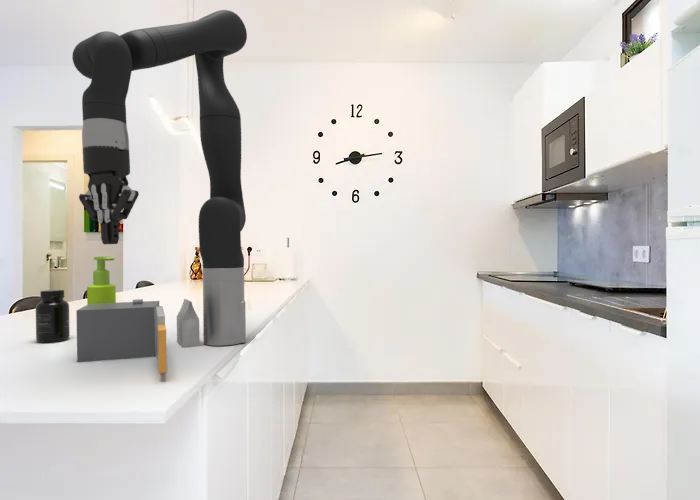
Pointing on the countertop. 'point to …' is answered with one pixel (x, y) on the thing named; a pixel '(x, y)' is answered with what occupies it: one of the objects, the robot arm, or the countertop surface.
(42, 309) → the supplement bottle
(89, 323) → the camera housing
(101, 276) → the soap dispenser
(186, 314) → the grey gable top carton
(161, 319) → the side door
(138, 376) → the countertop surface
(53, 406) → the countertop surface
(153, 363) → the countertop surface
